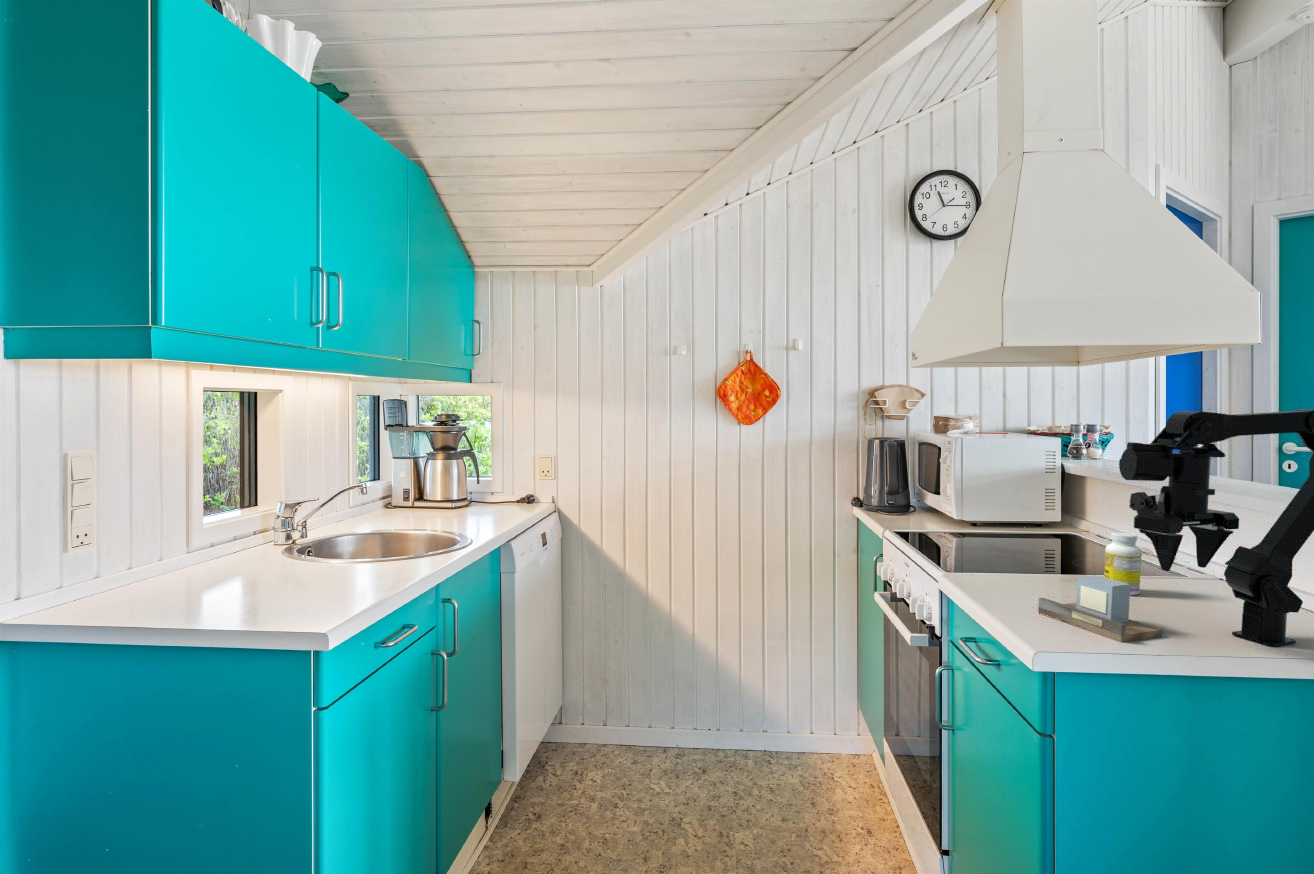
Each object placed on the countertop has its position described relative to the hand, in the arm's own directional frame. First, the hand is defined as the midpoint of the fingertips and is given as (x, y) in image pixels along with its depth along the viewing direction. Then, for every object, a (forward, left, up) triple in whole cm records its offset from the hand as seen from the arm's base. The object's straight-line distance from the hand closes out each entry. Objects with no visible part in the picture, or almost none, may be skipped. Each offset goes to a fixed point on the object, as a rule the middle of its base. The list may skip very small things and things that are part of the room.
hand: (1183, 568), depth 123 cm
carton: (+8, -9, -11) cm, 16 cm away
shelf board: (+9, -9, -12) cm, 17 cm away
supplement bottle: (-17, -24, -12) cm, 32 cm away
